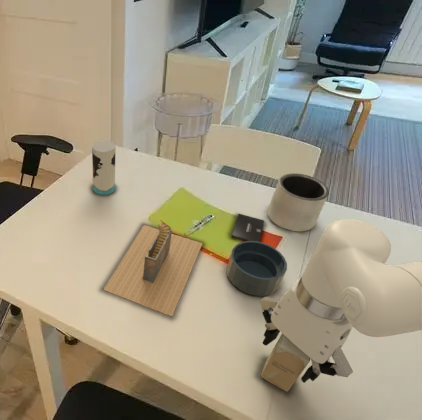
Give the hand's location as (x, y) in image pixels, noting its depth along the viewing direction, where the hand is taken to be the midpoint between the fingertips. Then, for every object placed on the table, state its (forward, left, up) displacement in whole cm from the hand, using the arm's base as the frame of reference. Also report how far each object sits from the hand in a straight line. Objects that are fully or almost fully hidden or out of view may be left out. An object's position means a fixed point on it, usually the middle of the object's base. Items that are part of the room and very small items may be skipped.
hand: (287, 358), depth 65 cm
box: (0, 0, -6) cm, 6 cm away
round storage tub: (+19, -15, -6) cm, 25 cm away
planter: (+28, -41, -6) cm, 50 cm away
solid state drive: (+31, -27, -6) cm, 42 cm away
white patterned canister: (+68, -4, -6) cm, 68 cm away
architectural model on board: (+34, +2, -6) cm, 35 cm away
